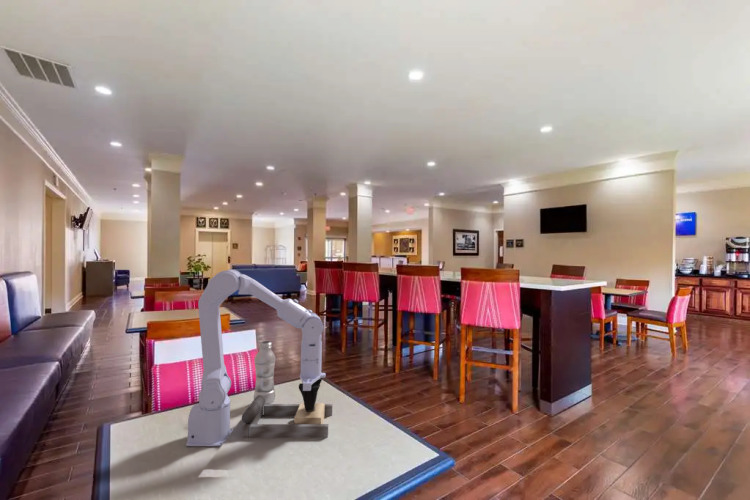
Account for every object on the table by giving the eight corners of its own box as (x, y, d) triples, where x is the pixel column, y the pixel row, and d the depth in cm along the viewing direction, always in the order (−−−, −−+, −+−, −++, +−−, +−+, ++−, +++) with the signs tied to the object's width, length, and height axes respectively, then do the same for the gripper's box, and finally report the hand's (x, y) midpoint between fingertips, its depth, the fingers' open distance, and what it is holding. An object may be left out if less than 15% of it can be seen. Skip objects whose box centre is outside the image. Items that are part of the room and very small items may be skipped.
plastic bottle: (271, 409, 109) (273, 344, 109) (250, 408, 109) (251, 344, 109) (277, 400, 115) (279, 340, 115) (257, 400, 115) (258, 339, 116)
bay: (238, 442, 89) (239, 414, 89) (255, 417, 103) (256, 393, 103) (329, 442, 90) (329, 414, 90) (333, 417, 104) (334, 393, 104)
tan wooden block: (294, 432, 92) (294, 402, 92) (300, 417, 101) (300, 389, 101) (320, 432, 92) (321, 402, 92) (324, 417, 101) (324, 389, 101)
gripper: (322, 366, 90) (321, 419, 89) (328, 351, 104) (327, 396, 104) (295, 366, 90) (294, 419, 89) (304, 351, 104) (303, 396, 104)
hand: (310, 407), depth 97 cm, fingers closed on tan wooden block, 3 cm apart
